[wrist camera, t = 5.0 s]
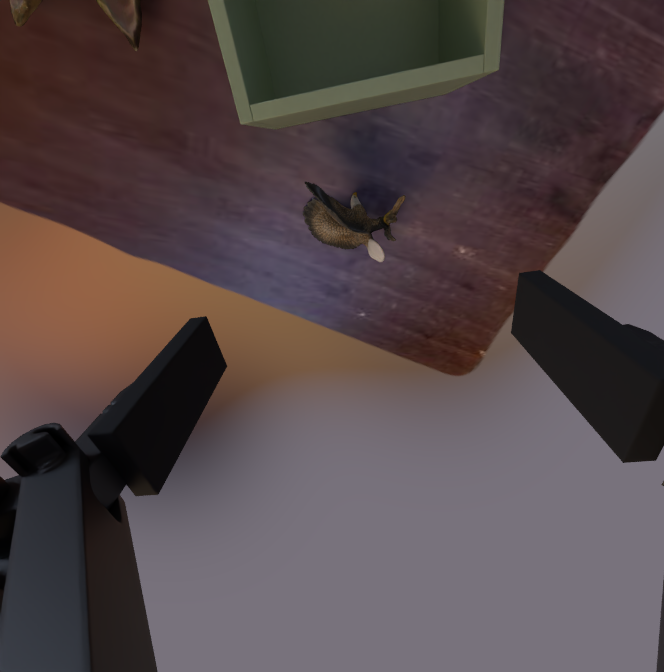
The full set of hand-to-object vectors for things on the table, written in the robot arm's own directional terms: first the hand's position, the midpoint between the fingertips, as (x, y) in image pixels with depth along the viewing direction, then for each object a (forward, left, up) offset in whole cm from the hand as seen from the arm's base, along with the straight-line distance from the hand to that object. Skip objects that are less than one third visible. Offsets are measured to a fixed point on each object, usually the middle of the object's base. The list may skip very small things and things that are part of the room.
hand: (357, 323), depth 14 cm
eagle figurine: (0, 0, -24) cm, 24 cm away
